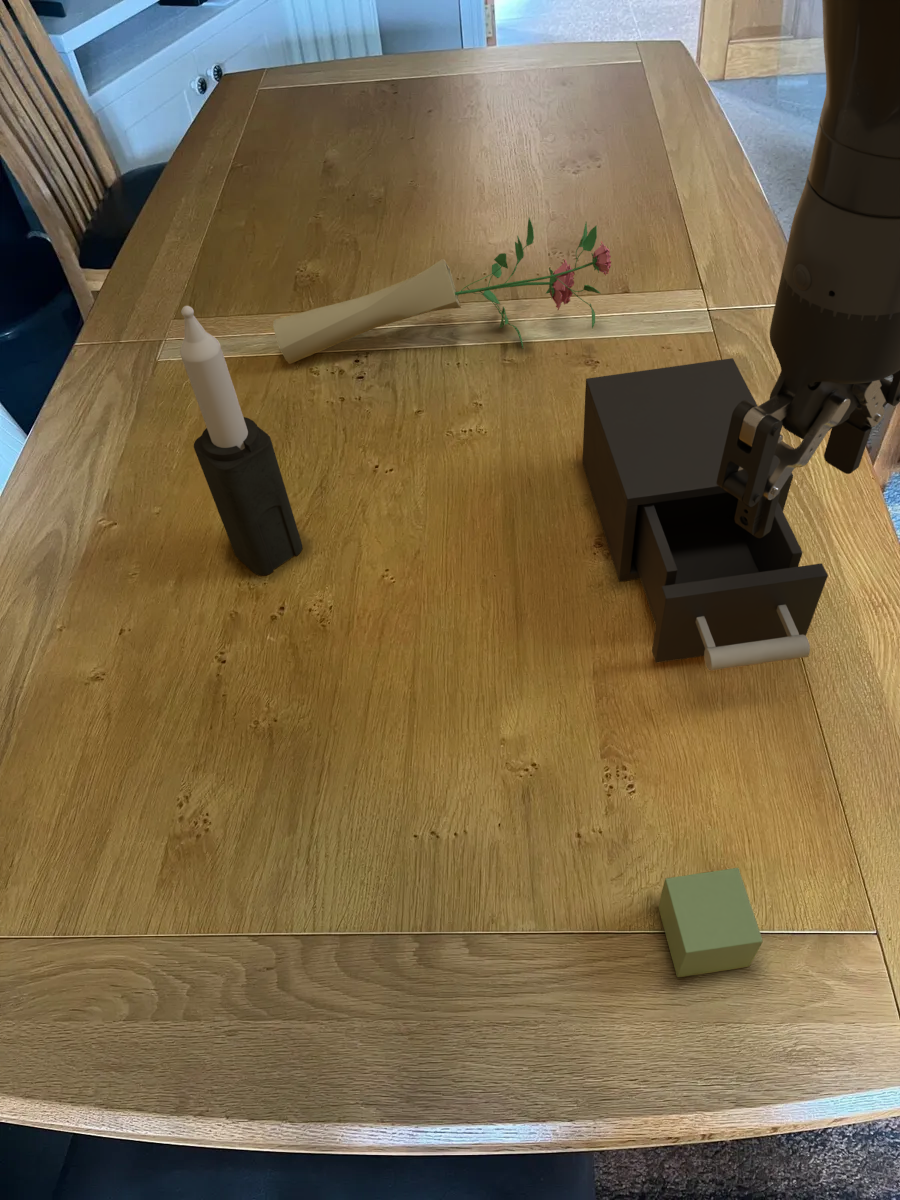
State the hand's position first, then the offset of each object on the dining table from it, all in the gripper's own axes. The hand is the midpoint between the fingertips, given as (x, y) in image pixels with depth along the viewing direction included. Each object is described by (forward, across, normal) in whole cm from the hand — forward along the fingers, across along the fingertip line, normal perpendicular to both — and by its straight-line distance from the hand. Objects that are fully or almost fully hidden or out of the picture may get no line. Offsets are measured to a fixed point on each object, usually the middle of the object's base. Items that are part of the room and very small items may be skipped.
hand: (796, 496), depth 60 cm
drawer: (+16, 0, +5) cm, 16 cm away
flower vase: (+16, +7, +49) cm, 52 cm away
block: (+17, -20, -13) cm, 29 cm away
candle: (+16, -24, +35) cm, 45 cm away
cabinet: (+17, +6, +15) cm, 23 cm away
